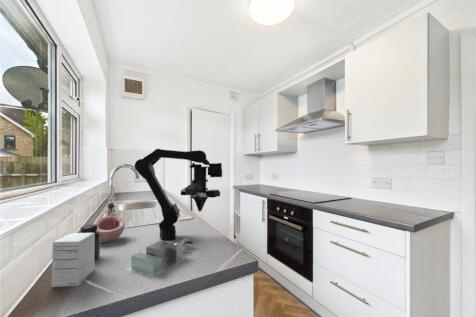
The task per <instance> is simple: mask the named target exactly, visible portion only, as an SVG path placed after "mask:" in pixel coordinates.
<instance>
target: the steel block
mask: <svg viewBox="0 0 476 317" xmlns="http://www.w3.org/2000/svg"><path fill="white" fill-rule="evenodd" d="M170 243H171V242H168V241H162V240H159V241H157V242H154V243H152V244H150V245H147V246H146V247H145V252H146V253H145V254H149V255H152V256H156V257H160V258H161V265H162V264H164V263H166V262H168V261H169V260H170Z"/></svg>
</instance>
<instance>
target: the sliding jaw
mask: <svg viewBox="0 0 476 317" xmlns="http://www.w3.org/2000/svg"><path fill="white" fill-rule="evenodd" d="M169 243H170V259H171V260H174V261H177V260H179V259H181V258H182V249H183V248H184V247H186V246H188V245H192V244H194V241H193V240H189V239H188V238H181V239H179V241H178V242H176V243H171V242H169Z"/></svg>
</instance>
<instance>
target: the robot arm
mask: <svg viewBox="0 0 476 317" xmlns="http://www.w3.org/2000/svg"><path fill="white" fill-rule="evenodd" d="M162 158H163V159H164V158H165V159H177V160H186V161H191V162H192V164H191V165H189V169H193V179H192V180H191V183H190V184H188V185H187V186H186V187H184V188H181V190H180V196H189V197H190V198H191V199H193V201H194V202H195V205H196V208H197V211H198V212H202V210H203V209H204V207H205V206H204V205H205V203H206V201H207V200H208V198H211V199H212V198H218V197H220V196H221V190H219V189H209V188H208V187H207V182H208V181H209V179H208V178H207V176H210V177H209V178H223V168H222V167H223V166H222V163H221V162H217V163H216V162H215V163H210V161H209V160H208V159H207V154H206V152H205V151H203V150H198V149H197V150H190V151H182V150H181V151H179V150H170V149H161V148H155V149H154V150H153V151H152V152H151V153H149V154H147V155H146V156H144V157H143V158H140V159H137V160H136V161H135V163H134V169H135V171H136V172H138V174H139V175H140V176H141V177H142V178H143V179H144V180H145V182H146V183H147V185H148V186H149V188H150V190H151V192H152V194H153V195H154V197H155V199H156V201H157V202H158V204H159V206H160V208H161V214H162V217H163V218H162V220H161V221H160V222H159V224H158V228H159V239H160V241H164V242H168V241H169V242H171V241H174V240H176V238H177V237H176V236H177V234H176V233H177V232H176V225H174V224H176V223H177V222H178V220H179V219H180V215H181V213H180V211H181V210H180V209H179V207H178V205H177V203H174V204H173V203H172V202H171V201H170V200H169V197H168V196H167V194H166V192H165V190H164V189H163V187H162V185H161V184H160V182H159V180H158V178H157V176H156V171H155V168H154V165H155V164H156V163H157V162H159V160H161V159H162ZM197 163H198V164H197ZM202 164H203V165H205V166H202Z"/></svg>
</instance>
